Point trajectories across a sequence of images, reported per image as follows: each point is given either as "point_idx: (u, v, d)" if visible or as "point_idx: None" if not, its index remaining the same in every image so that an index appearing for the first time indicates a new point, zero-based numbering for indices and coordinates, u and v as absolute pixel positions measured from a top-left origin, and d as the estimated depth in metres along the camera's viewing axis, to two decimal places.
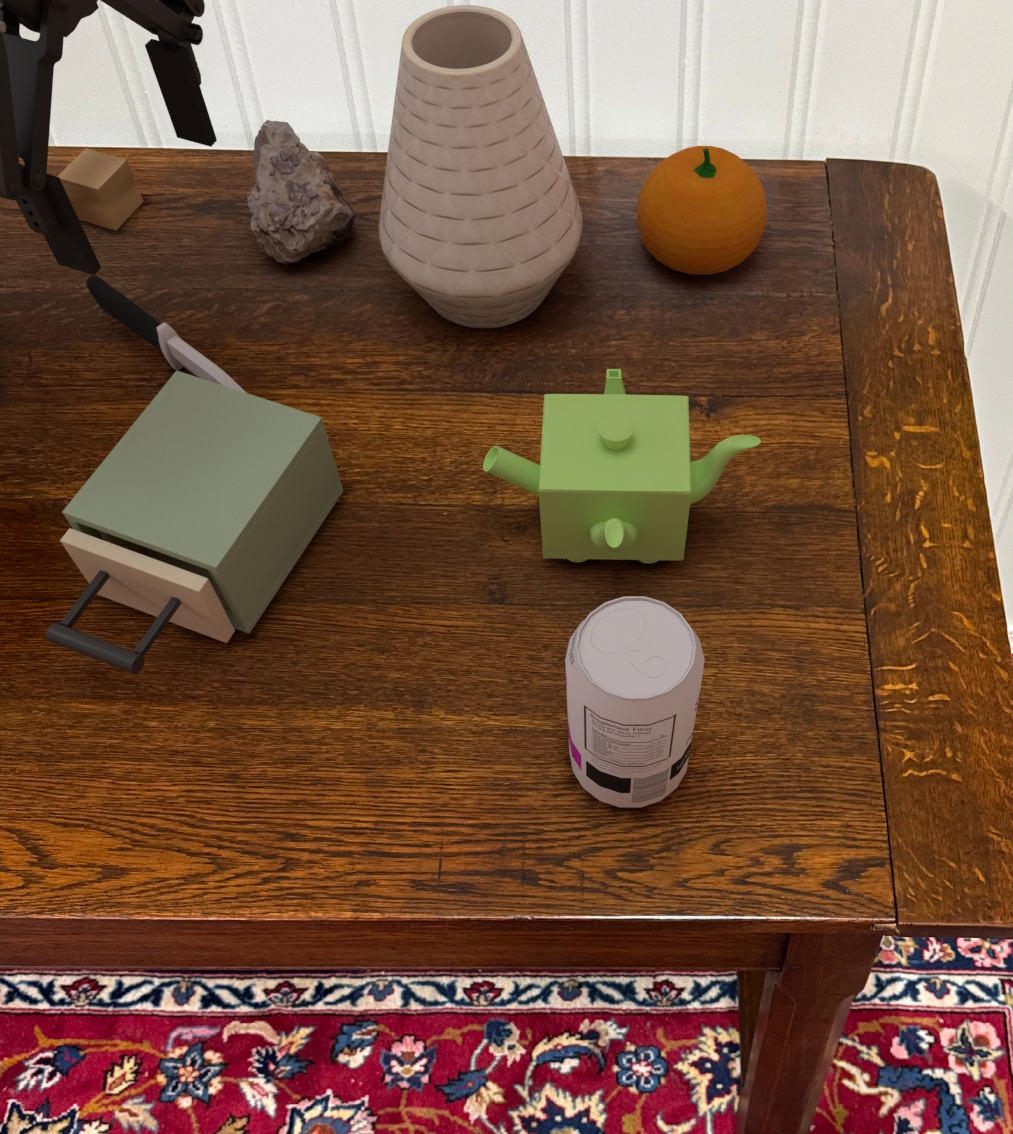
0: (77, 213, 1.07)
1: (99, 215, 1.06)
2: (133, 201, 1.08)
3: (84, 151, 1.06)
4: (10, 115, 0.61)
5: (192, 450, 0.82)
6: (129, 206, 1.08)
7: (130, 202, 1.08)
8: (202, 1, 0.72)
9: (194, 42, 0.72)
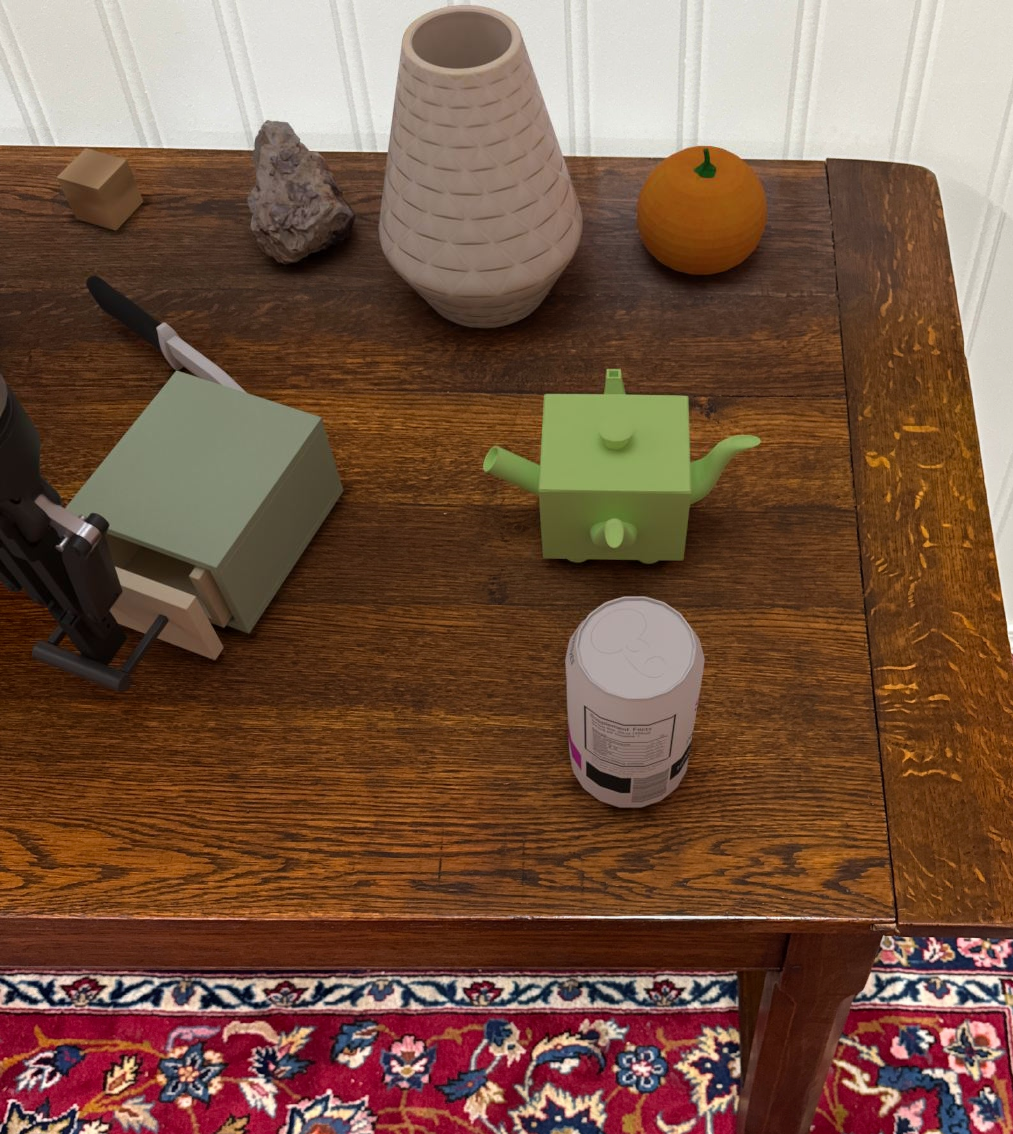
0: (77, 213, 1.07)
1: (99, 215, 1.06)
2: (133, 201, 1.08)
3: (84, 151, 1.06)
4: None
5: (192, 450, 0.82)
6: (129, 206, 1.08)
7: (130, 202, 1.08)
8: None
9: None
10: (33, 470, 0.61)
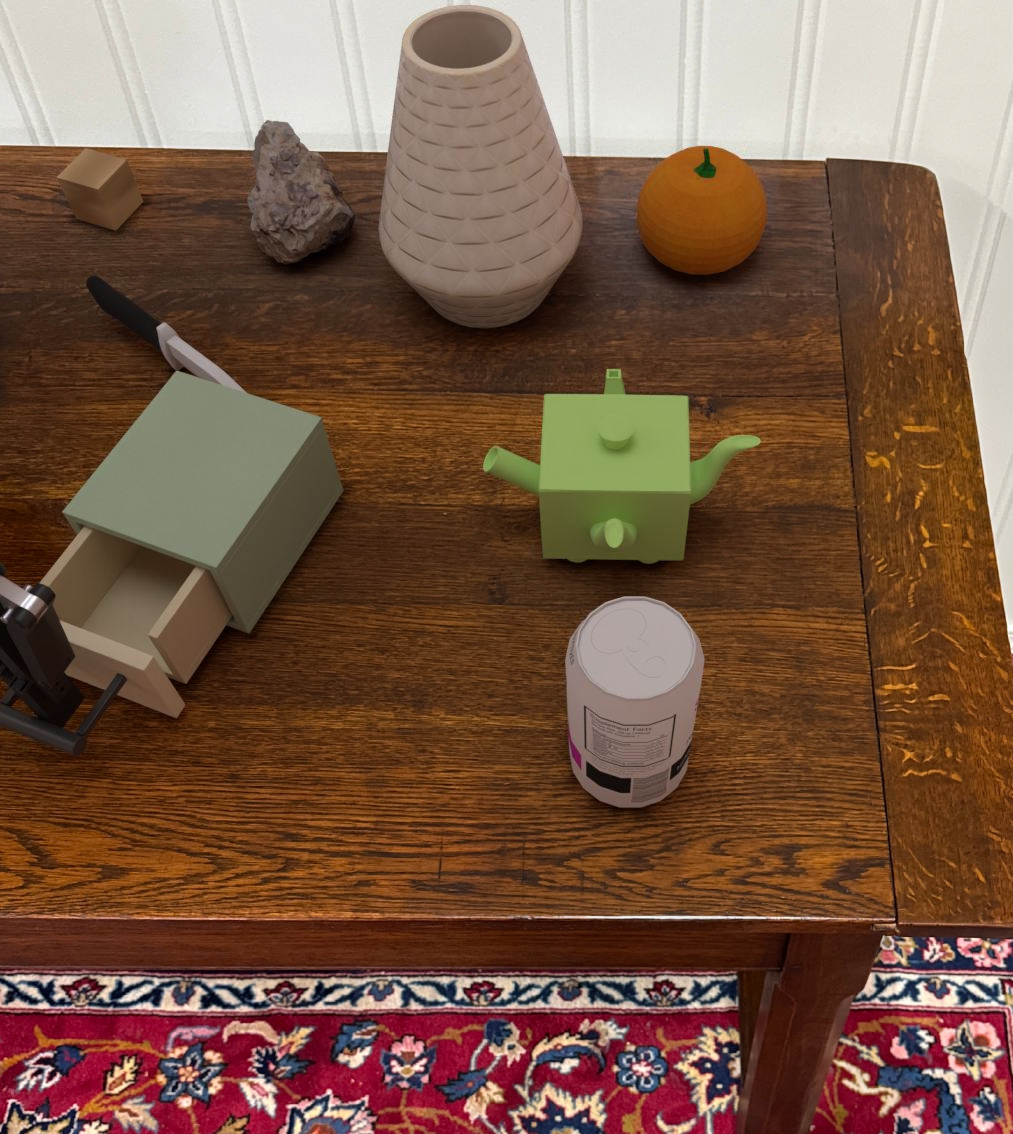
0: (77, 213, 1.07)
1: (99, 215, 1.06)
2: (133, 201, 1.08)
3: (84, 151, 1.06)
4: None
5: (192, 450, 0.82)
6: (129, 206, 1.08)
7: (130, 202, 1.08)
8: None
9: None
10: None
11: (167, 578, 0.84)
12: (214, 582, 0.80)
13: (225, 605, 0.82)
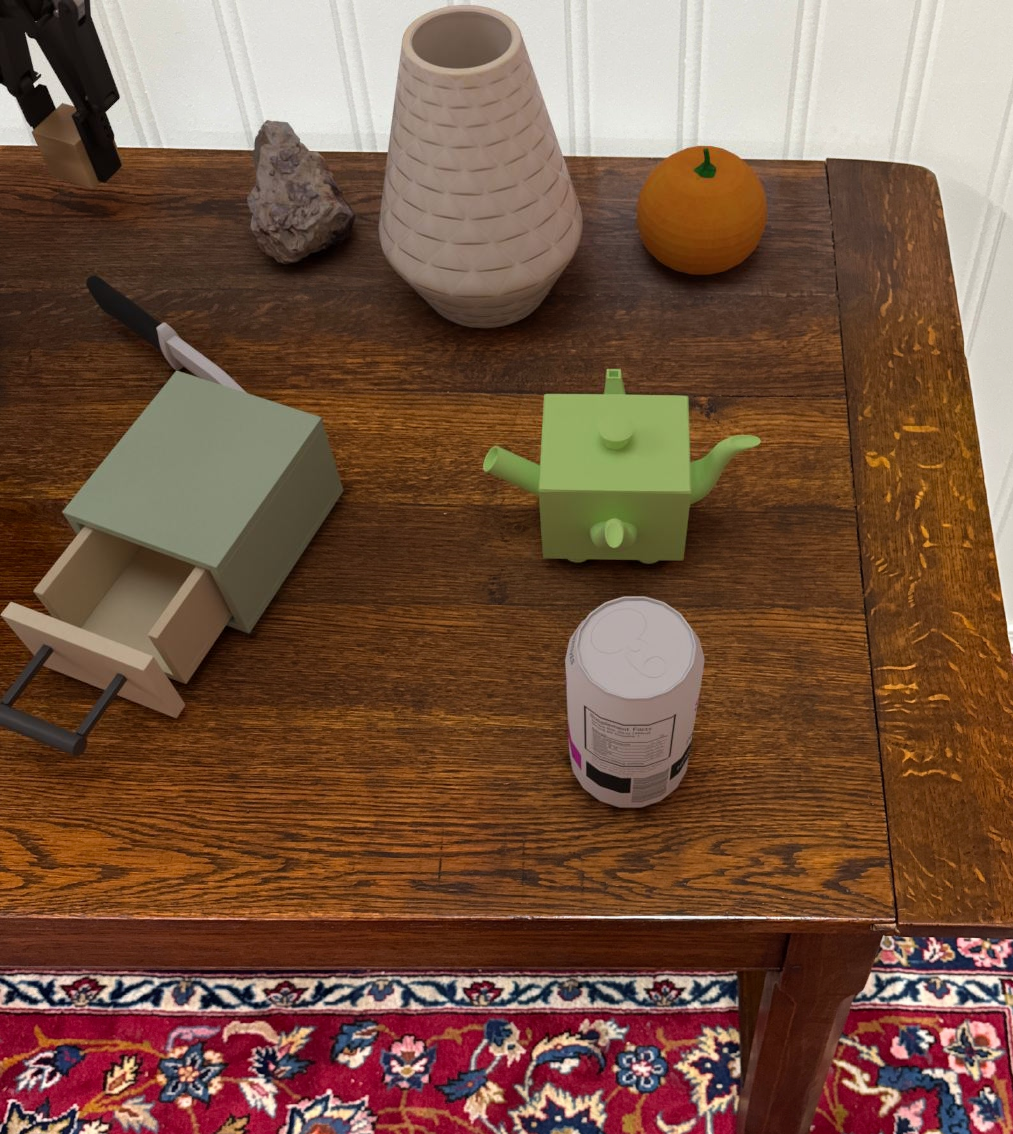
0: (53, 171, 1.03)
1: (76, 173, 1.02)
2: None
3: (60, 106, 1.02)
4: None
5: (192, 450, 0.82)
6: None
7: None
8: (101, 111, 0.96)
9: (75, 116, 0.97)
10: None
11: (167, 578, 0.84)
12: (214, 582, 0.80)
13: (225, 605, 0.82)
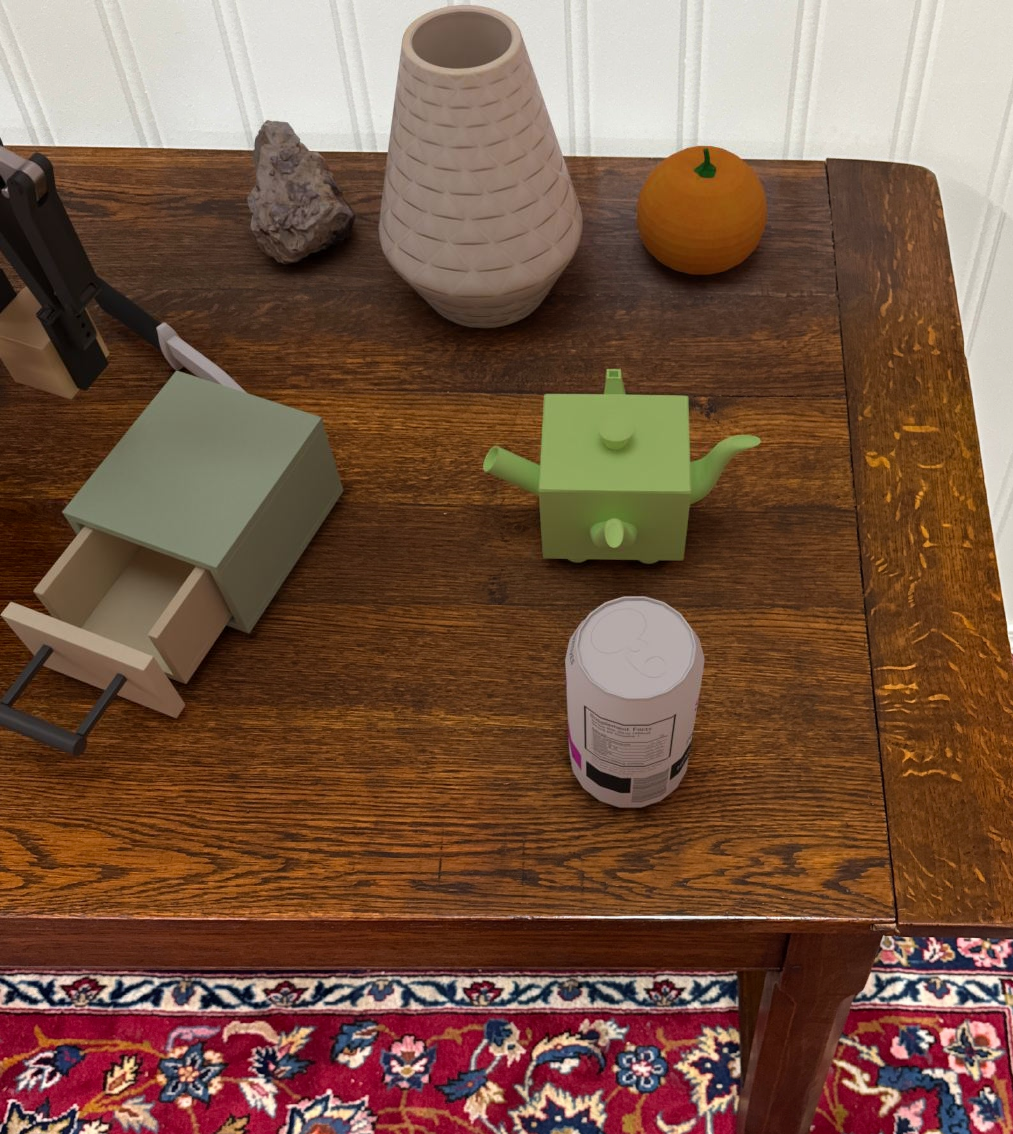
0: (16, 375, 0.76)
1: (46, 380, 0.75)
2: None
3: (23, 291, 0.75)
4: None
5: (192, 450, 0.82)
6: None
7: None
8: (76, 311, 0.69)
9: None
10: None
11: (167, 578, 0.84)
12: (214, 582, 0.80)
13: (225, 605, 0.82)
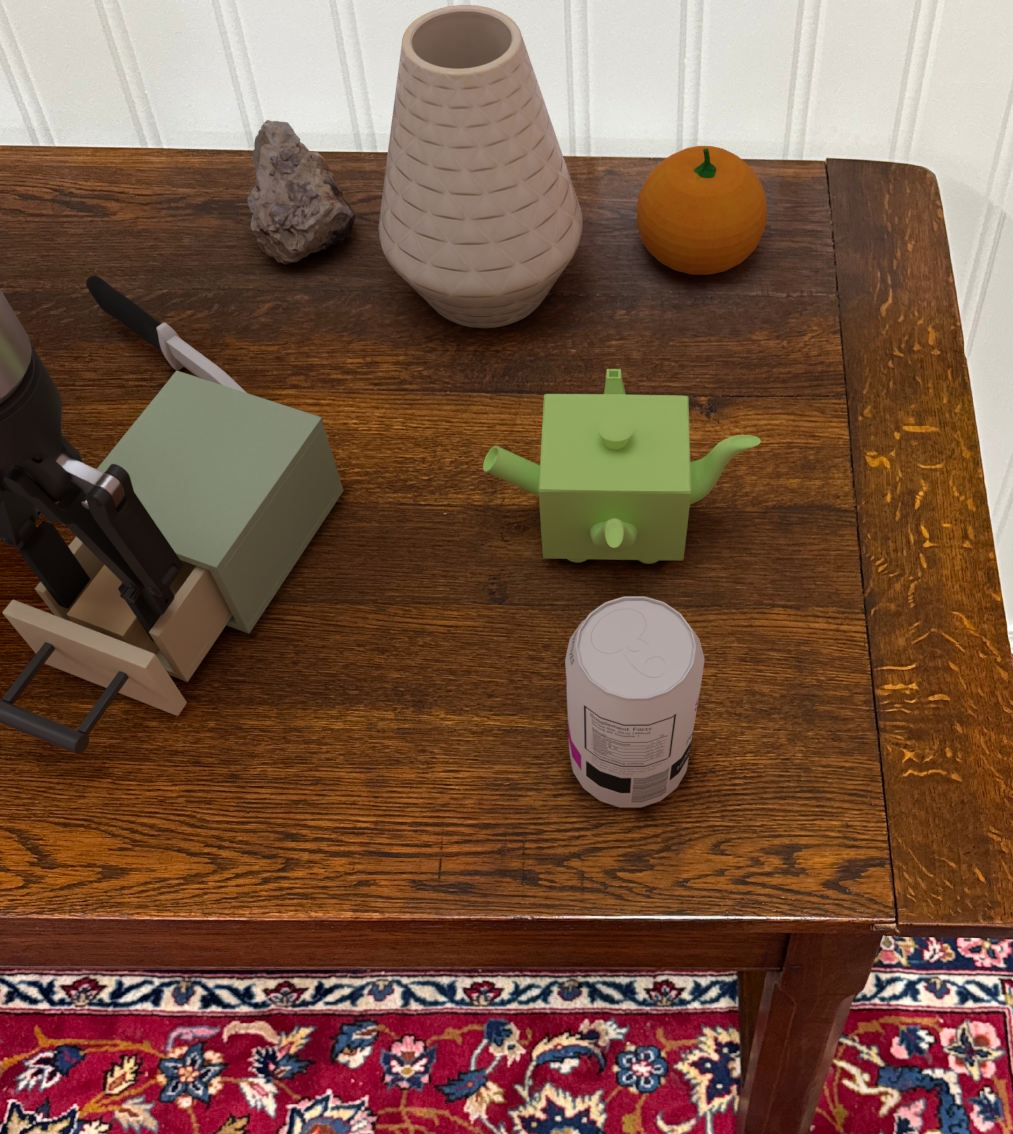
0: None
1: None
2: None
3: (103, 570, 0.79)
4: None
5: (192, 450, 0.82)
6: None
7: None
8: (159, 593, 0.70)
9: None
10: None
11: None
12: None
13: (226, 603, 0.82)
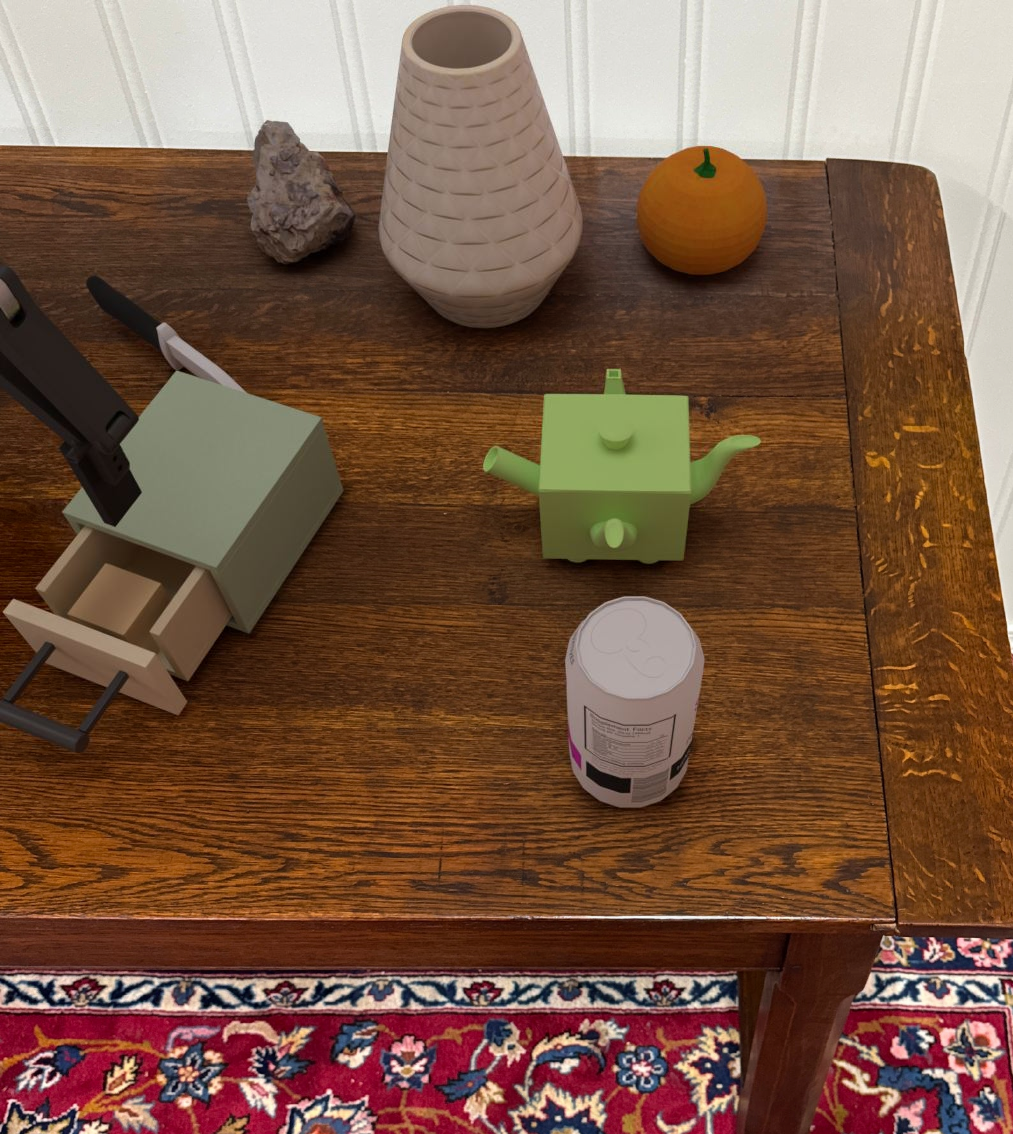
0: None
1: None
2: None
3: (103, 569, 0.79)
4: None
5: (192, 450, 0.82)
6: None
7: None
8: (108, 448, 0.57)
9: None
10: None
11: (169, 575, 0.84)
12: None
13: None
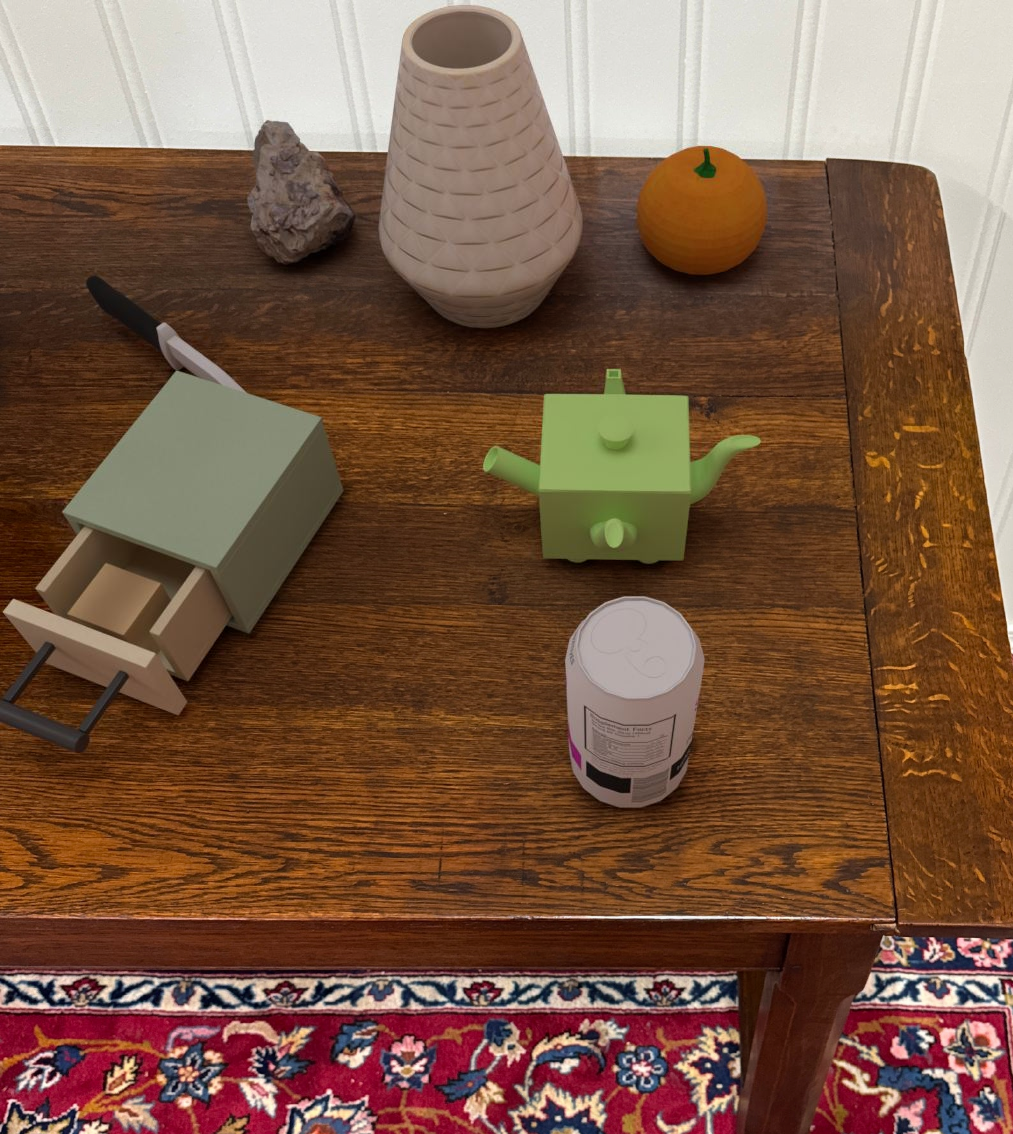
0: None
1: None
2: None
3: (103, 569, 0.79)
4: None
5: (192, 450, 0.82)
6: None
7: None
8: None
9: None
10: None
11: (169, 575, 0.84)
12: None
13: None
